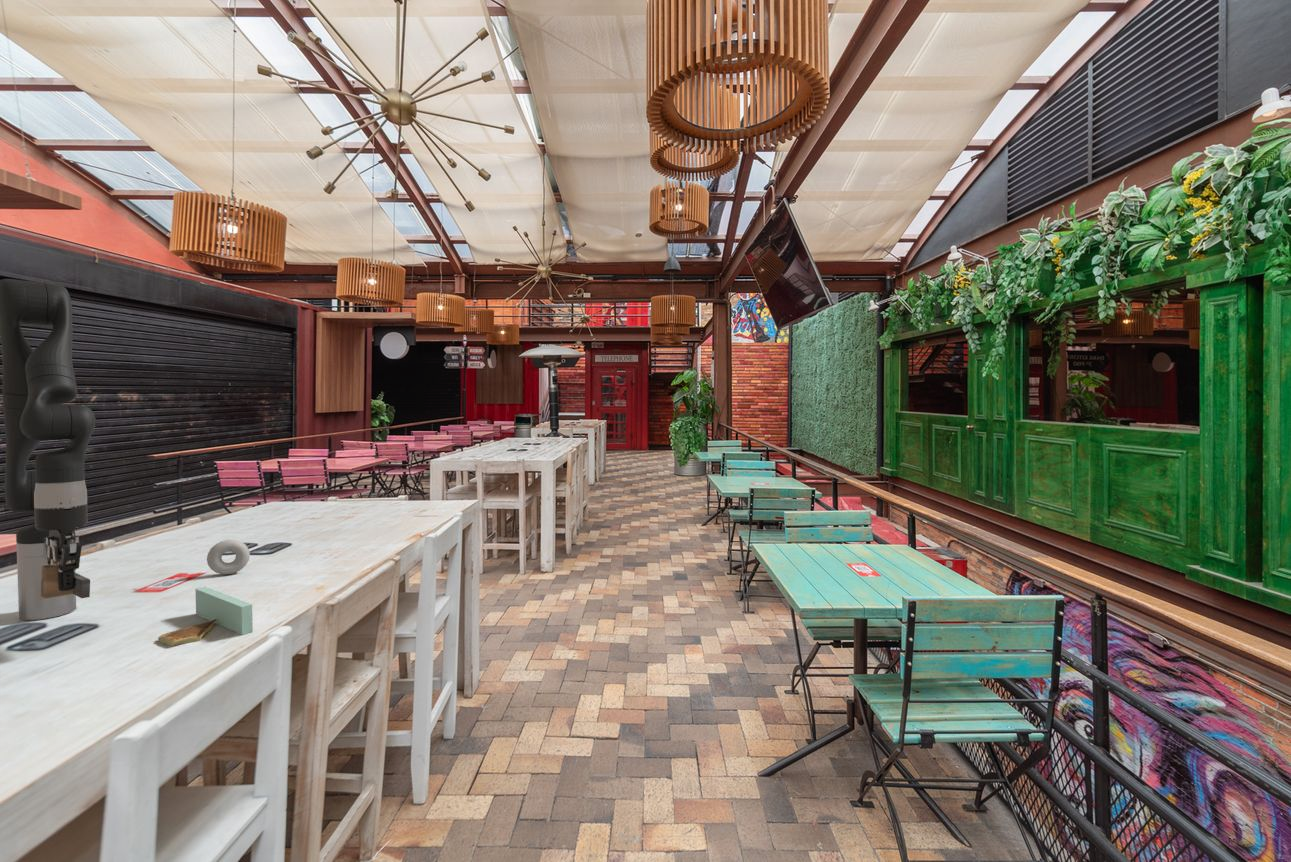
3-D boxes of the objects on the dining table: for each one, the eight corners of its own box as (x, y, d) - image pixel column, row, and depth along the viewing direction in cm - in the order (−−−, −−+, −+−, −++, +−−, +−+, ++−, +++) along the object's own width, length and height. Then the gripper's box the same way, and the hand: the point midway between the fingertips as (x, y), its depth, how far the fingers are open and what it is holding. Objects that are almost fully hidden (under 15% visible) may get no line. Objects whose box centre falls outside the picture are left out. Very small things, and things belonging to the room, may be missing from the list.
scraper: (33, 591, 117) (34, 562, 117) (68, 586, 122) (69, 557, 122) (53, 603, 111) (54, 571, 111) (89, 597, 115) (90, 567, 115)
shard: (216, 625, 128) (216, 617, 128) (235, 632, 124) (235, 624, 124) (156, 642, 118) (156, 634, 118) (175, 650, 115) (175, 641, 115)
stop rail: (196, 614, 133) (195, 588, 133) (206, 611, 135) (205, 586, 135) (242, 635, 122) (241, 607, 121) (252, 631, 123) (252, 604, 123)
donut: (250, 570, 169) (249, 536, 169) (250, 573, 166) (249, 538, 166) (207, 575, 163) (206, 540, 163) (206, 578, 160) (206, 543, 160)
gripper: (24, 503, 116) (27, 587, 117) (45, 509, 109) (48, 599, 110) (75, 498, 123) (77, 578, 123) (98, 504, 115) (100, 589, 116)
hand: (63, 588), depth 117 cm, fingers closed on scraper, 3 cm apart
